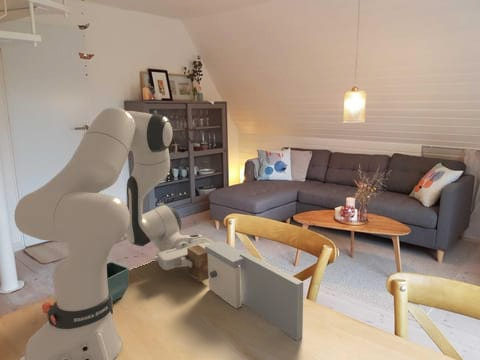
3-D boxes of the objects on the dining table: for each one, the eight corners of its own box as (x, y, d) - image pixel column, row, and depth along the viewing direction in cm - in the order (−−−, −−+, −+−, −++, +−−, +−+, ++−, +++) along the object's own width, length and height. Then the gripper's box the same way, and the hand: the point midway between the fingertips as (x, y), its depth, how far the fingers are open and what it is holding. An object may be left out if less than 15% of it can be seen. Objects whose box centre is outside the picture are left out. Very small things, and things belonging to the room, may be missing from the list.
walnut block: (199, 281, 116) (198, 255, 114) (188, 273, 121) (187, 247, 119) (210, 277, 118) (209, 251, 116) (199, 269, 123) (197, 244, 121)
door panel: (232, 310, 103) (231, 270, 100) (205, 290, 114) (203, 253, 111) (240, 306, 104) (239, 267, 102) (213, 287, 115) (211, 251, 113)
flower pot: (89, 300, 110) (85, 272, 108) (114, 287, 117) (111, 261, 115) (107, 309, 105) (104, 280, 103) (132, 295, 112) (129, 268, 110)
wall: (285, 347, 88) (285, 290, 84) (207, 290, 114) (204, 244, 111) (302, 337, 91) (303, 281, 88) (223, 284, 118) (221, 239, 114)
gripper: (150, 247, 122) (170, 262, 111) (203, 233, 134) (226, 244, 123) (151, 265, 123) (171, 281, 112) (204, 249, 135) (226, 262, 124)
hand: (200, 262), depth 118 cm, fingers closed on walnut block, 4 cm apart
